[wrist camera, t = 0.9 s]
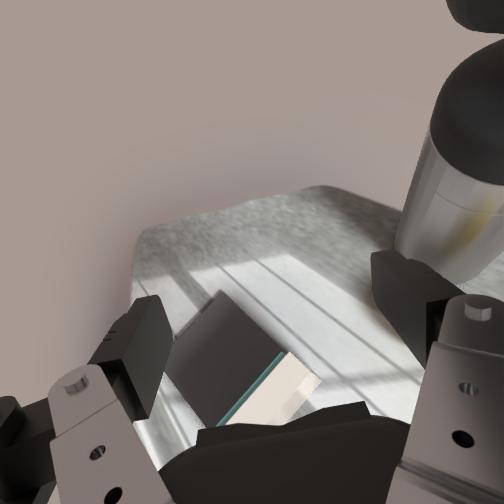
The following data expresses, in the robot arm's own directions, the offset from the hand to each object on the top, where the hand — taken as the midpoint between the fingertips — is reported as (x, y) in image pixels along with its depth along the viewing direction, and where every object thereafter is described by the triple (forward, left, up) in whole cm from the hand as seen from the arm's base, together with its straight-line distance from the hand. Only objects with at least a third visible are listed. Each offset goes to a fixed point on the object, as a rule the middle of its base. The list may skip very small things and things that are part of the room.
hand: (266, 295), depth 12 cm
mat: (+7, -8, -24) cm, 26 cm away
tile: (+7, 0, -24) cm, 25 cm away
